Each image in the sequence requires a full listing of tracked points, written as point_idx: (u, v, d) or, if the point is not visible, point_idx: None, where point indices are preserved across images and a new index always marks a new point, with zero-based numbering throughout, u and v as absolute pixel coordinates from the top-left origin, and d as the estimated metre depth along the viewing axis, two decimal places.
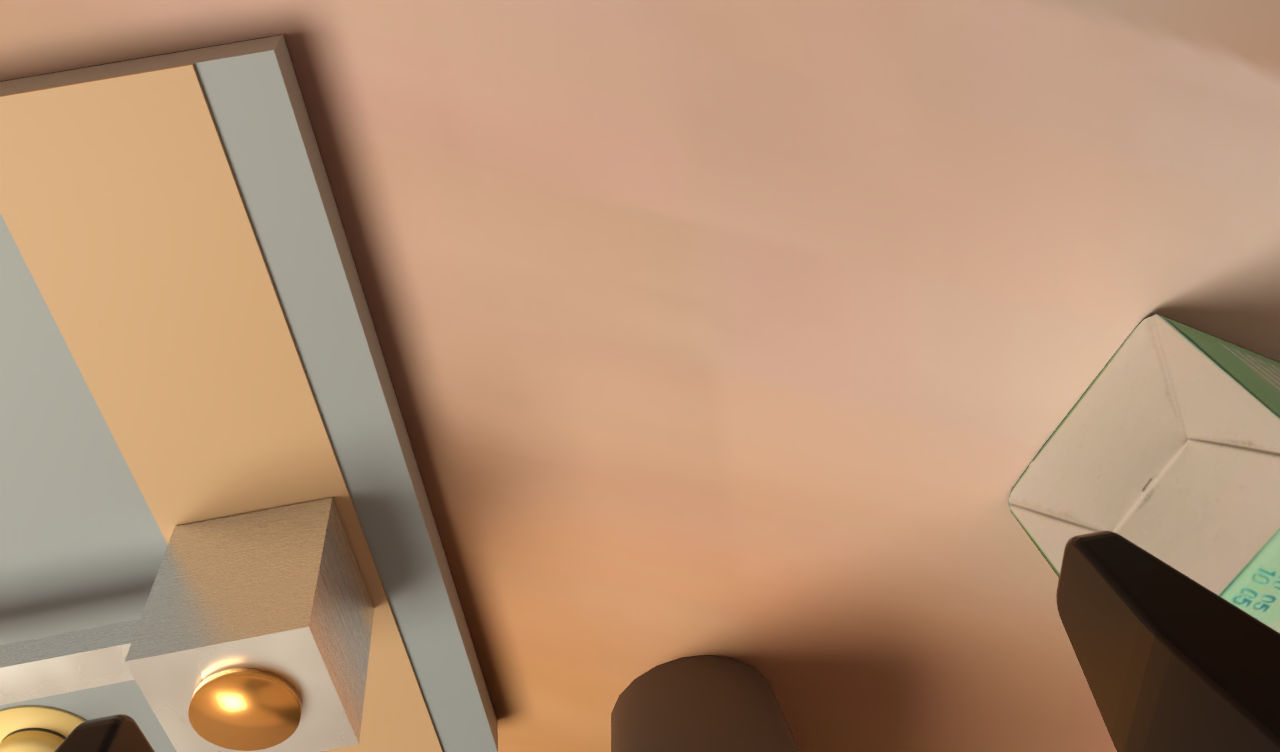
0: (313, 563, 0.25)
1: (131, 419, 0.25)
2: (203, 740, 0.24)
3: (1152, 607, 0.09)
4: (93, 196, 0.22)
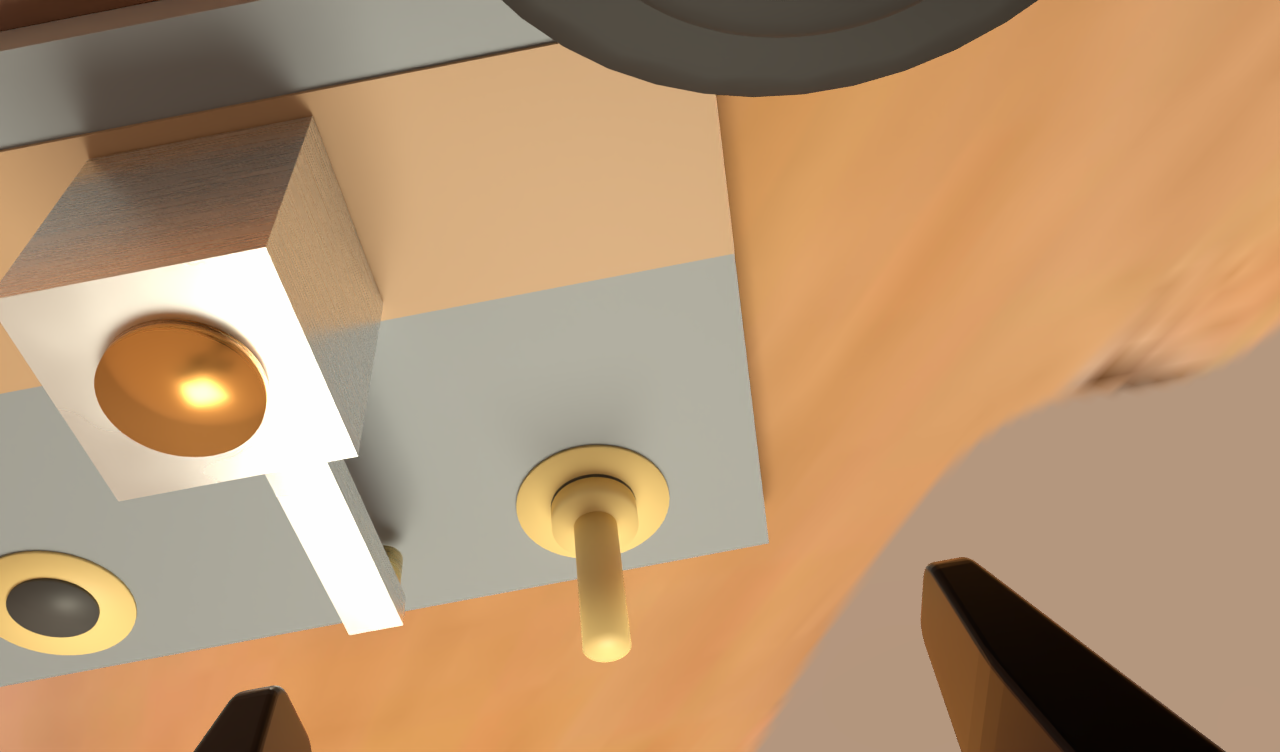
0: (44, 236, 0.16)
1: (19, 364, 0.21)
2: (275, 437, 0.17)
3: (992, 637, 0.09)
4: None
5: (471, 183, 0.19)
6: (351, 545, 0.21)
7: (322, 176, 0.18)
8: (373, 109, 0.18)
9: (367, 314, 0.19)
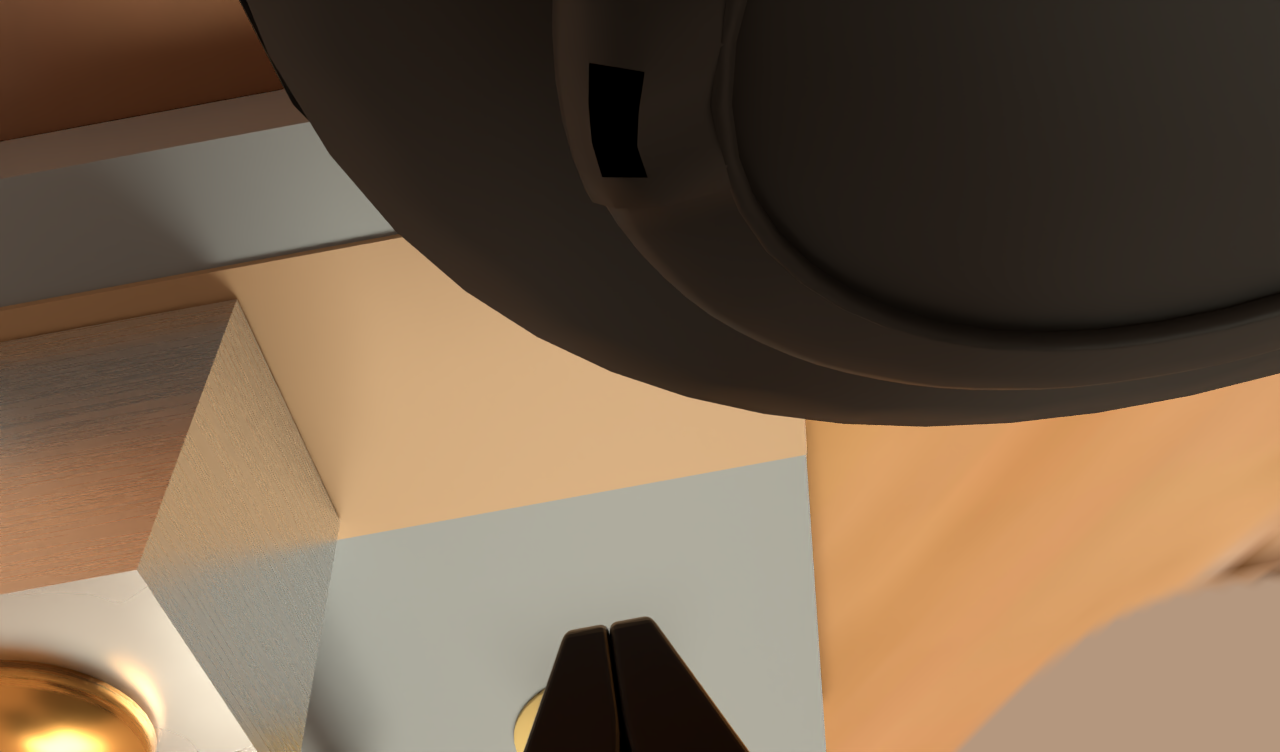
0: None
1: None
2: None
3: (637, 705, 0.09)
4: None
5: (458, 377, 0.14)
6: None
7: (249, 385, 0.13)
8: (322, 289, 0.13)
9: (315, 554, 0.14)
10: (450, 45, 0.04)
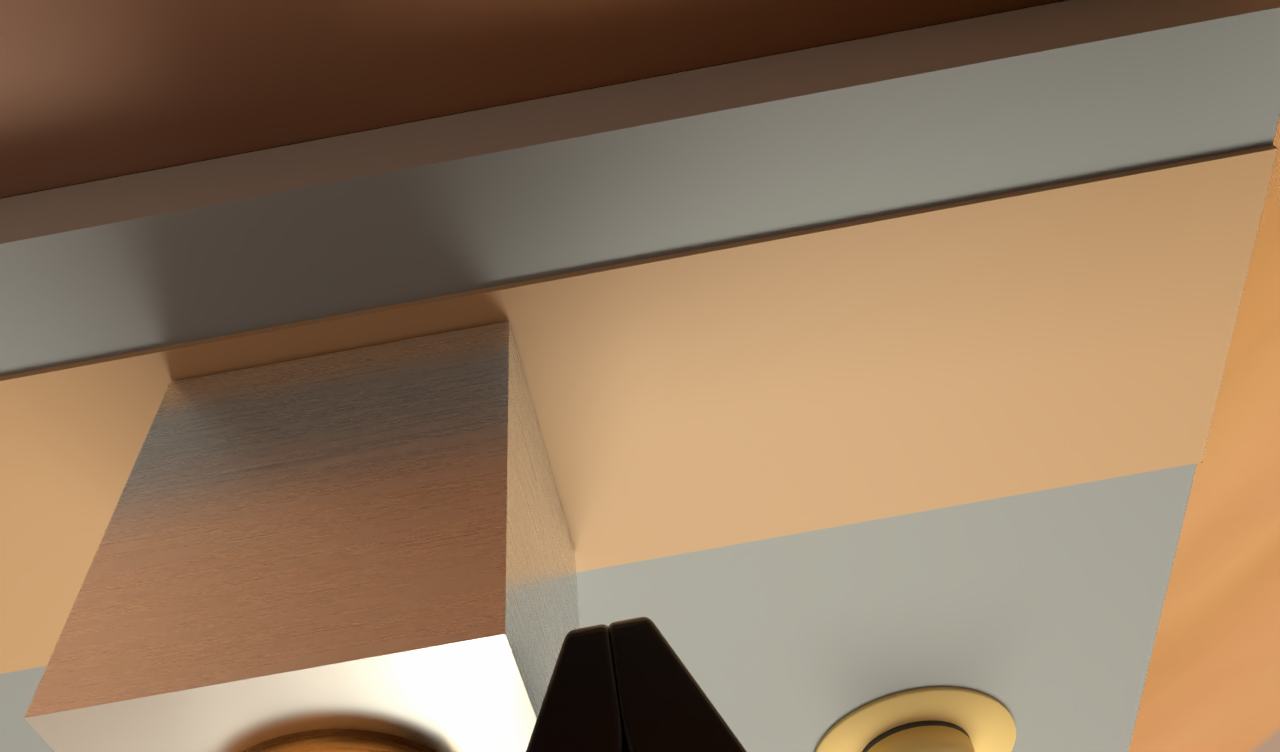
0: (111, 544, 0.10)
1: None
2: None
3: (634, 706, 0.09)
4: None
5: (866, 378, 0.13)
6: None
7: (524, 414, 0.12)
8: (753, 282, 0.12)
9: (570, 594, 0.13)
10: None
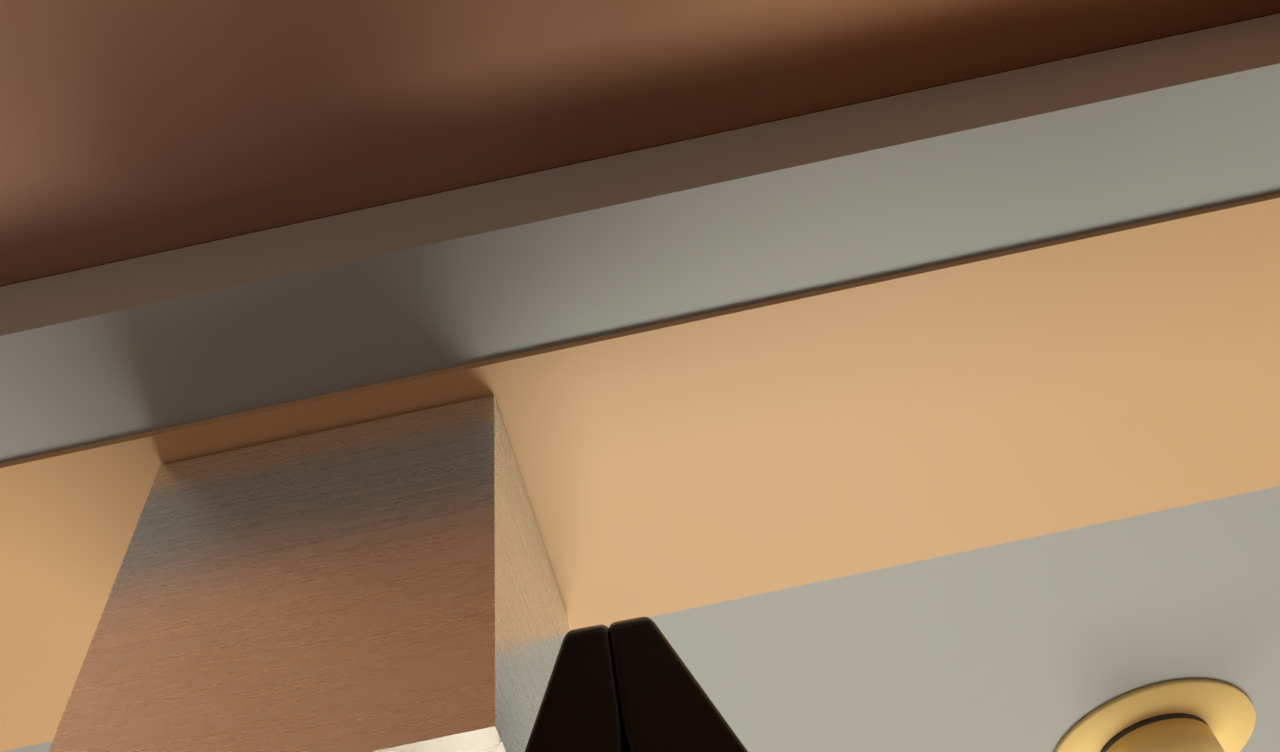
0: (105, 637, 0.10)
1: None
2: None
3: (635, 706, 0.09)
4: (50, 641, 0.14)
5: (1183, 368, 0.13)
6: None
7: (512, 488, 0.12)
8: (1094, 274, 0.12)
9: None
10: None
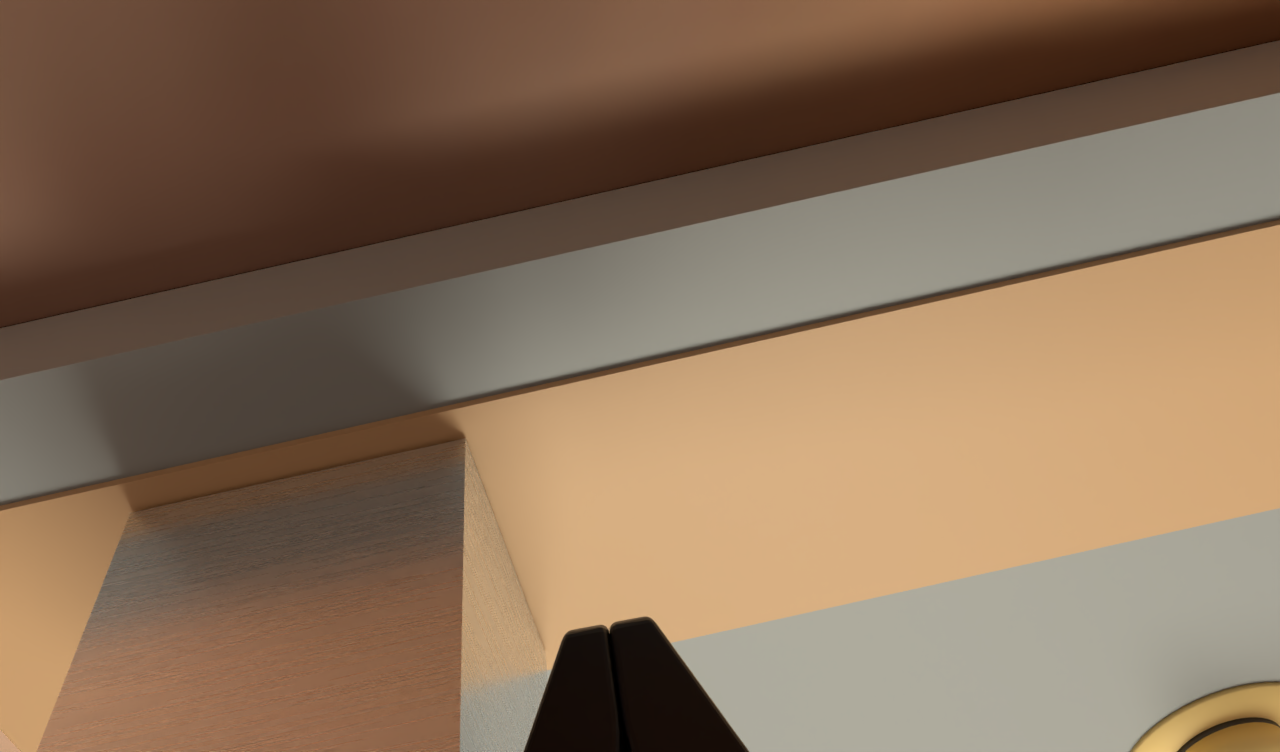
0: (73, 691, 0.10)
1: None
2: None
3: (636, 705, 0.09)
4: None
5: (1277, 372, 0.13)
6: None
7: (484, 531, 0.12)
8: (1196, 280, 0.12)
9: (540, 701, 0.13)
10: None
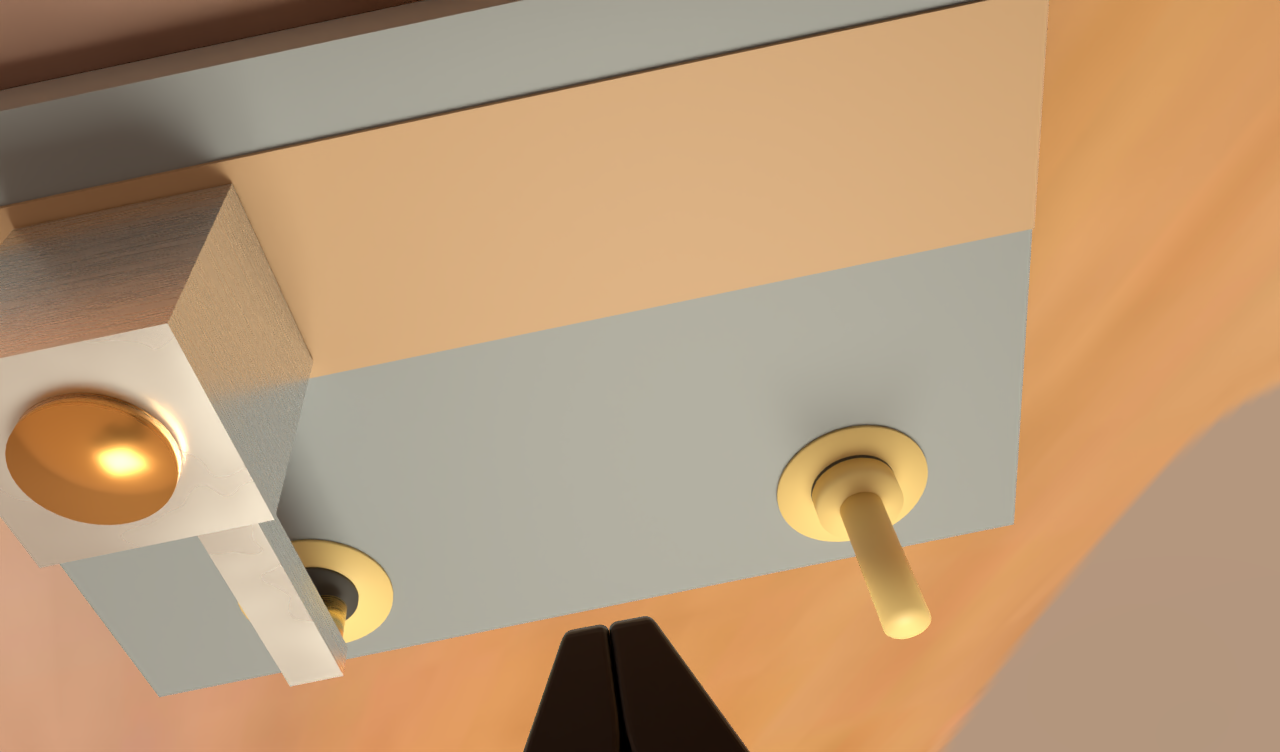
0: None
1: (329, 349, 0.21)
2: (191, 503, 0.17)
3: (637, 705, 0.09)
4: None
5: (794, 160, 0.19)
6: (286, 599, 0.21)
7: (241, 242, 0.18)
8: (714, 86, 0.18)
9: (292, 374, 0.20)
10: None
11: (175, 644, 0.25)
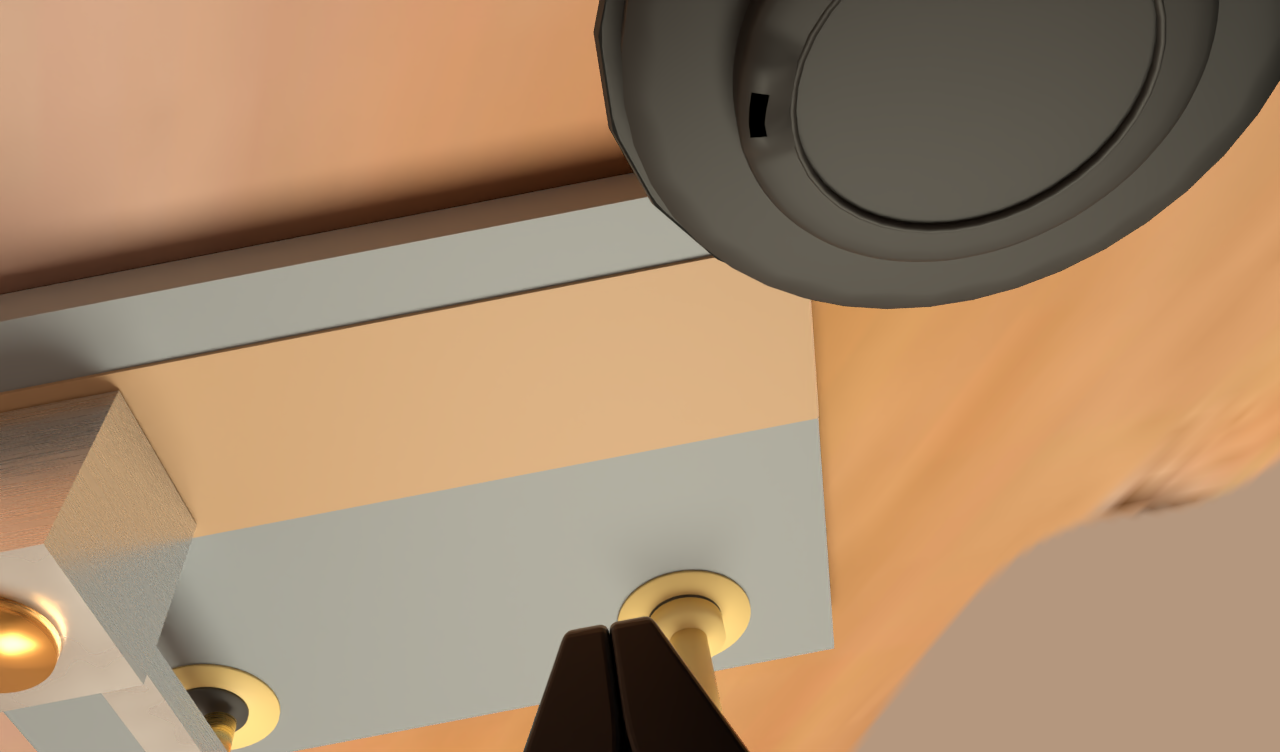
0: None
1: (210, 515, 0.24)
2: (71, 673, 0.20)
3: (636, 705, 0.09)
4: None
5: (603, 368, 0.23)
6: (171, 728, 0.25)
7: (125, 442, 0.22)
8: (528, 314, 0.22)
9: (173, 544, 0.23)
10: (692, 97, 0.12)
11: (86, 750, 0.29)
